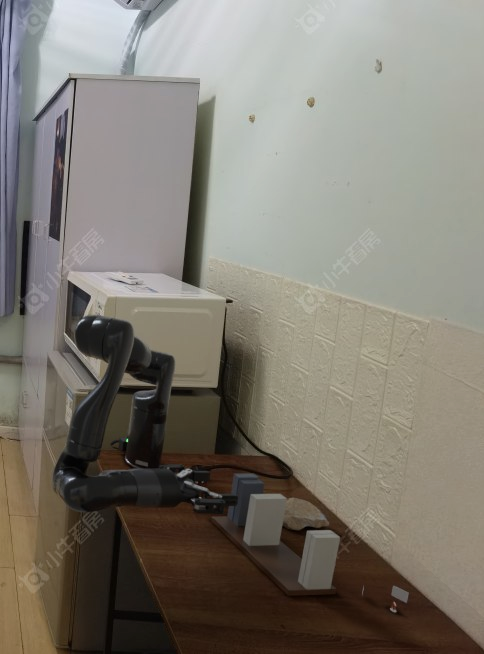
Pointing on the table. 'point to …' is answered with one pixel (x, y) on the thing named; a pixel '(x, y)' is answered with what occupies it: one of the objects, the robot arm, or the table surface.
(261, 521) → the white rectangular block
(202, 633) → the table surface
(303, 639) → the table surface
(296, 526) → the stone
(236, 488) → the grey books
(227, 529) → the shelf board
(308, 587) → the cream books
